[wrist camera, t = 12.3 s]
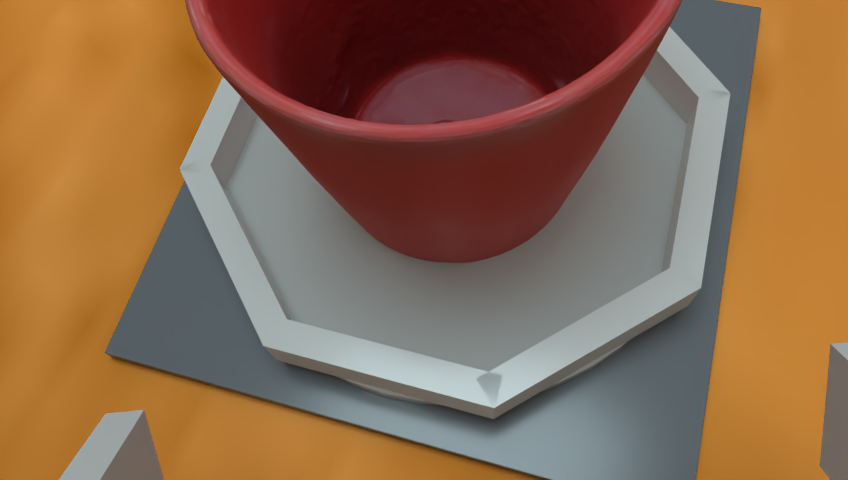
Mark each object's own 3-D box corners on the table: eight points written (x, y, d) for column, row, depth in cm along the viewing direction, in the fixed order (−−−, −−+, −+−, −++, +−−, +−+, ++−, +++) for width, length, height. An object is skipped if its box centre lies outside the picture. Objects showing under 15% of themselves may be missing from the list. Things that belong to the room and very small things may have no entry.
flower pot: (269, 65, 27) (160, -188, 18) (567, -2, 27) (606, -286, 18) (314, 346, 22) (198, 195, 13) (671, 263, 22) (790, 60, 14)
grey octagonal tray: (111, 357, 24) (67, 331, 21) (301, -56, 31) (284, -114, 28) (685, 520, 21) (713, 512, 18) (756, 17, 27) (784, -41, 25)
